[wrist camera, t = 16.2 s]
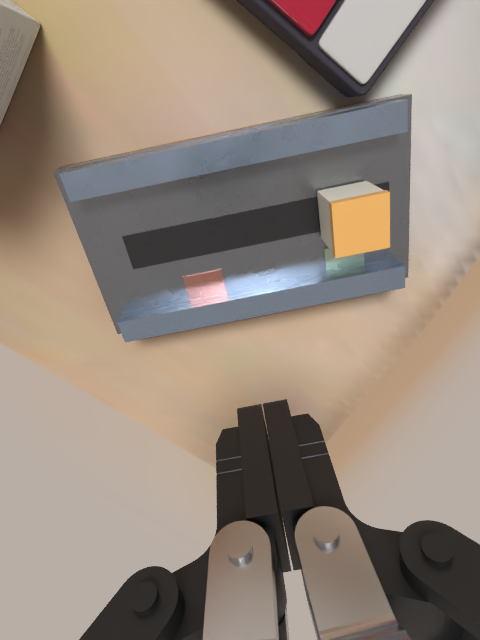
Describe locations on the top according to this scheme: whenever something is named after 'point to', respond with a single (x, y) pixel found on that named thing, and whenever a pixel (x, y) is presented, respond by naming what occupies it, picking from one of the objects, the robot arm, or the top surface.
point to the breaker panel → (239, 218)
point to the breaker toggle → (354, 218)
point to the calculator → (342, 34)
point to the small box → (13, 48)
